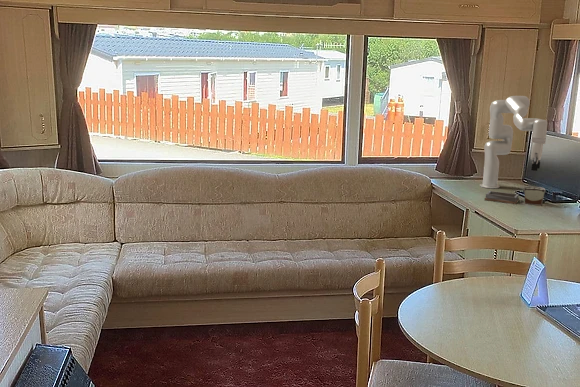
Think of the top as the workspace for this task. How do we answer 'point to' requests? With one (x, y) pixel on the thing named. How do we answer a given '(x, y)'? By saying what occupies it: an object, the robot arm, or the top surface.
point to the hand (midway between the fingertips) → (535, 169)
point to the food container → (534, 195)
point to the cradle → (502, 197)
